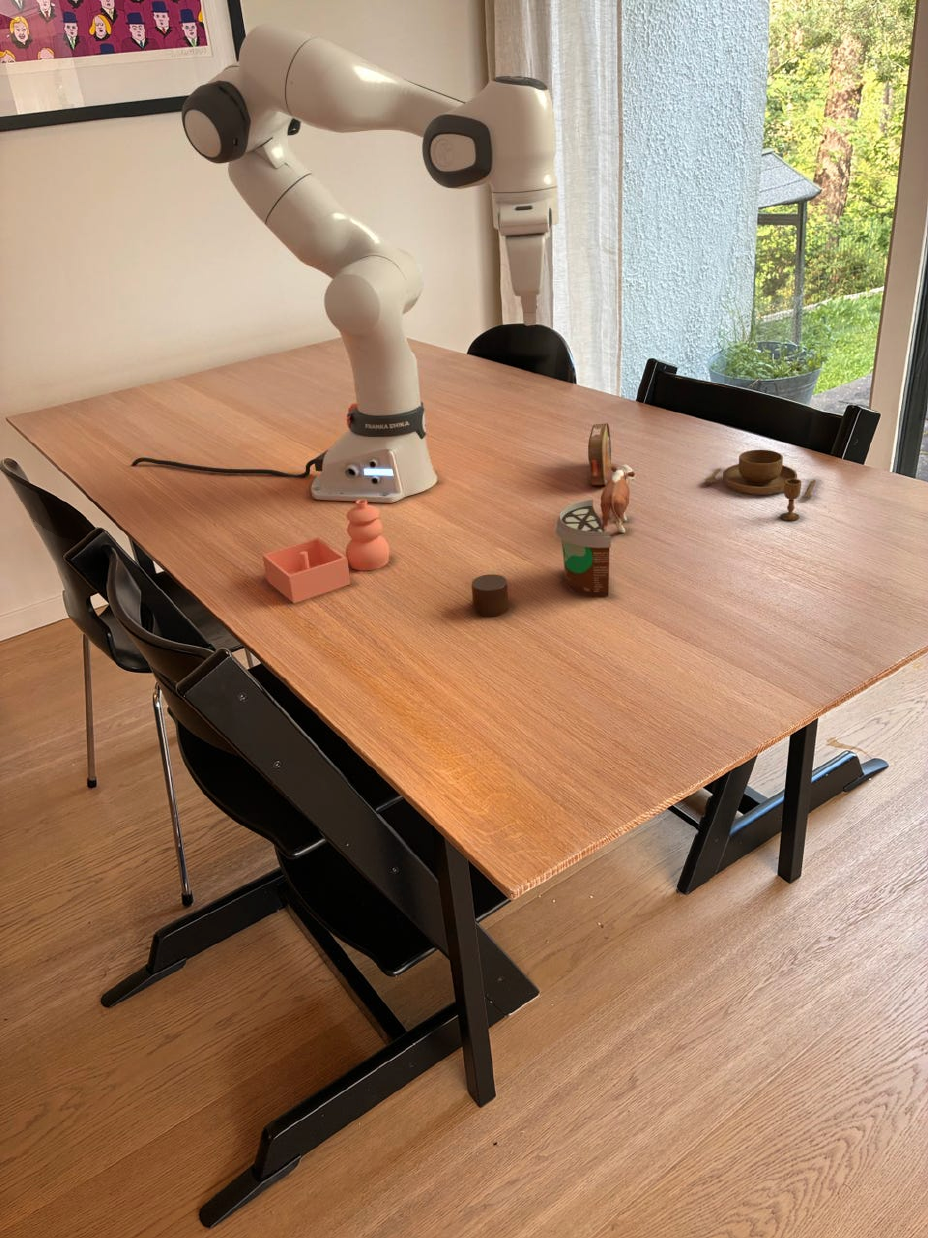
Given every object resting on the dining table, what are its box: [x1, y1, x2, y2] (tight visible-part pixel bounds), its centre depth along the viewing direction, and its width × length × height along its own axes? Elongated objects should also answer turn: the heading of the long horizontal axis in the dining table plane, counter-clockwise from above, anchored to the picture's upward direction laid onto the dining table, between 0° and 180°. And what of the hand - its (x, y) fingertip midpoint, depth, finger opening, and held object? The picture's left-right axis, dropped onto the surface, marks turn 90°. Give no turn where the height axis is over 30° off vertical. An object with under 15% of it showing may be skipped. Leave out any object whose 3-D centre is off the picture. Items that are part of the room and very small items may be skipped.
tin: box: [587, 422, 612, 486], centre depth 173 cm, size 15×3×8 cm, turn 168°
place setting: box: [704, 449, 816, 522], centre depth 162 cm, size 18×20×6 cm
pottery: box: [262, 499, 391, 604], centre depth 146 cm, size 18×10×10 cm, turn 123°
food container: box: [555, 499, 612, 597], centre depth 137 cm, size 12×6×10 cm, turn 5°
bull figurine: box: [600, 464, 636, 534], centre depth 154 cm, size 4×13×8 cm, turn 161°
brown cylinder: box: [471, 573, 510, 618], centre depth 134 cm, size 5×5×4 cm
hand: (530, 316), depth 141 cm, fingers open, 8 cm apart
